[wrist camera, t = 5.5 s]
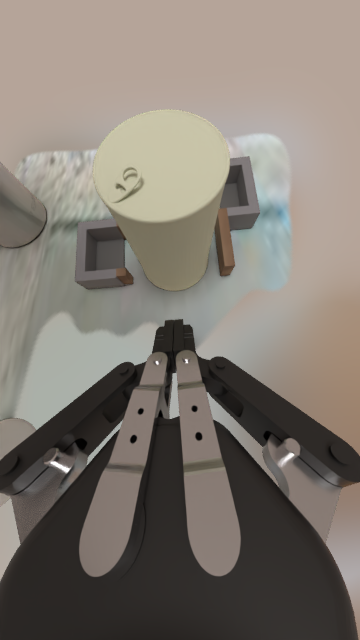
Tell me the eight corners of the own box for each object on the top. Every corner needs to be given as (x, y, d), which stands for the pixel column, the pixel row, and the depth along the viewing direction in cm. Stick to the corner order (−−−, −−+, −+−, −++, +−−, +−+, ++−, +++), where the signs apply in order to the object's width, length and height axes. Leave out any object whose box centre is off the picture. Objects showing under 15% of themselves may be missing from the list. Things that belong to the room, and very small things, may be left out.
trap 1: (223, 230, 21) (227, 215, 19) (216, 179, 23) (219, 160, 21) (251, 228, 21) (260, 212, 19) (242, 176, 23) (249, 156, 20)
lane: (124, 284, 21) (109, 270, 17) (124, 183, 24) (111, 151, 20) (229, 275, 20) (239, 258, 16) (215, 172, 23) (220, 137, 19)
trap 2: (88, 289, 21) (74, 281, 19) (90, 236, 23) (78, 222, 20) (124, 285, 21) (116, 277, 18) (124, 232, 22) (116, 218, 20)
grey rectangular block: (129, 260, 22) (57, 156, 10) (176, 219, 22) (162, 76, 10) (173, 304, 20) (152, 245, 8) (221, 259, 21) (266, 145, 9)
